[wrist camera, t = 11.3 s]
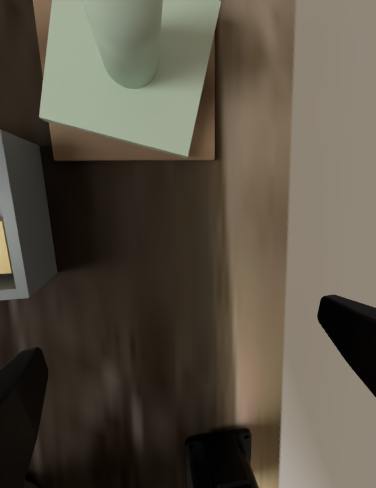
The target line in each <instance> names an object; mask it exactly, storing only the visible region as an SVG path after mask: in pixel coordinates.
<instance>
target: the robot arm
mask: <svg viewBox="0 0 376 488" xmlns="http://www.w3.org/2000/svg"><path fill="white" fill-rule="evenodd" d="M317 317H318V321H319V323H320V324H321V326H322V327H323V329H324V330H325V332H326V333H327V334H328V336H329V337H330V339H331V340H332V342H333V343H334V345H335V346H336V347H337V349H338V350H339V352H340V353H341V355H342V356H343V357H344V359H345V360H346V362H347V363H348V364H349V365H350V367H351V368H352V369H353V370H354V372H355V373H356V374H357V375H358V376H359V378H360V379H361V380H362V381H363V382H364V384H365V385H366V386H367V387H368V389H369V390H370V391H371V392H372V393H373V395H374V396H375V397H376V308H374V307H371V306H368V305H365V304H362V303H359V302H356V301H352V300H349V299H346V298H343V297H340V296H337V295H328V296H324V297H322V298H321V301H320V305H319V310H318V315H317ZM47 380H48V368H47V365H46V362H45V359H44V356H43V352H42V350H41V349H40V348H38V347H36V348H30V349H25V350H22V351H21V352H20V353H18V354H17V355H16V356H15V357H14V358H13V359H12V360H10V361H9V362H8V363H7V364H6V365H5V366H4V367H2V368H1V369H0V488H23V485H24V482H25V479H26V475H27V472H28V468H29V465H30V461H31V458H32V454H33V451H34V447H35V443H36V439H37V435H38V430H39V425H40V419H41V414H42V408H43V402H44V397H45V391H46V386H47ZM185 458H186V488H259V487H258V484H257V482H256V479H255V476H254V474H253V471H252V468H251V465H250V458H251V433H250V431H249V429H241V430H236V431H230V432H224V433H218V434H212V435H207V436H201V437H195V438H190V439H188V440H186V442H185Z"/></svg>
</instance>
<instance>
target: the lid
mask: <svg viewBox="0 0 376 488" xmlns="http://www.w3.org/2000/svg"><path fill="white" fill-rule="evenodd" d="M220 5H221V1H220V0H52V5H51V14H50V23H49V32H48V41H47V50H46V59H45V68H44V77H43V86H42V96H41V105H40V114H39V117H40V118H41V119H43V120H44V121H47V122H50V123H54V124H58V125H62V126H66V127H69V128H73V129H77V130H81V131H85V132H88V133H92V134H96V135H100V136H104V137H107V138H111V139H115V140H119V141H123V142H126V143H130V144H134V145H138V146H142V147H145V148H149V149H153V150H157V151H161V152H164V153H168V154H172V155H176V156H180V157H183V158H187V157H188V153H189V149H190V144H191V139H192V135H193V130H194V125H195V121H196V116H197V112H198V107H199V102H200V98H201V93H202V88H203V84H204V79H205V74H206V70H207V65H208V60H209V56H210V51H211V46H212V42H213V37H214V32H215V28H216V23H217V19H218V14H219V9H220Z"/></svg>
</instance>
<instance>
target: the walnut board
mask: <svg viewBox="0 0 376 488" xmlns="http://www.w3.org/2000/svg"><path fill="white" fill-rule="evenodd" d="M33 5H34V13H35V20H36V28H37V36H38V43H39V51H40V58H41V66H42V73H43V77H44V68H45V59H46V50H47V41H48V32H49V23H50V14H51V5H52V0H33ZM49 127H50V134H51V142H52V149H53V157H54V160H55V161H213V160H215V32H214V37H213V42H212V46H211V51H210V56H209V60H208V65H207V70H206V74H205V79H204V84H203V88H202V93H201V98H200V102H199V107H198V112H197V116H196V121H195V125H194V130H193V135H192V139H191V144H190V149H189V153H188V157H187V158H183V157H180V156H176V155H172V154H168V153H164V152H161V151H157V150H153V149H149V148H145V147H142V146H138V145H134V144H130V143H126V142H123V141H119V140H115V139H111V138H107V137H104V136H100V135H96V134H92V133H88V132H85V131H81V130H77V129H73V128H69V127H66V126H62V125H58V124H54V123H50V122H49Z"/></svg>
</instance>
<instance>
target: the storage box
mask: <svg viewBox="0 0 376 488" xmlns="http://www.w3.org/2000/svg"><path fill="white" fill-rule="evenodd" d="M55 274H57V266H56V259H55V252H54V245H53V238H52V231H51V224H50V217H49V210H48V203H47V196H46V189H45V182H44V175H43V168H42V161H41V154H40V147H39V145H36V144H34V143H32V142H29V141H27V140H24V139H22V138H20V137H17V136H15V135H12V134H10V133H8V132H5V131H3V130H0V300H9V299H22V298H30V297H31V296H32V295H33V294H34V293H35V292H36V291H38V290H39V289H40V288H41V287H42V286H43V285H44V284H45V283H47V282H48V281H49V280H50V279H51V278H52V277H53V276H54V275H55Z"/></svg>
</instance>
